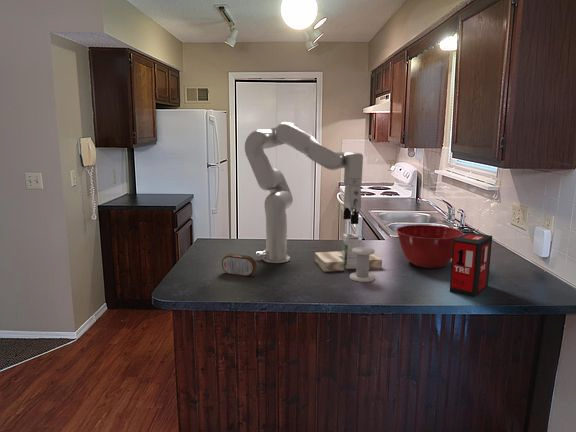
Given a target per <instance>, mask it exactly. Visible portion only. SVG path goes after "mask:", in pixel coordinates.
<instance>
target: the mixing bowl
mask: <svg viewBox="0 0 576 432" xmlns="http://www.w3.org/2000/svg"><path fill="white" fill-rule="evenodd" d="M396 232H397V236H398V240H399V243H400V244H399V245H400V246H401V249H402V252H403V254H404V257H405V258H406V259H407V261H409V262H410V263H411V264H412V265H414V266H416V267H420V268H426V269H437V268H442V267H443V266H445V265H447V264H448V263H449V262H450V261H452V253H453V240H455V239H457V238H459V237H460V236H462V235H464V232H463V231H461V230H459V229H457V228H453V227H450V226H449V227H448V226H442V225H433V224H430V225H429V224H411V225H403V226H399V227H398V228H397V229H396Z"/></svg>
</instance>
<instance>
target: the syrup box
mask: <svg viewBox="0 0 576 432" xmlns="http://www.w3.org/2000/svg"><path fill="white" fill-rule="evenodd" d="M359 238H360V237H359V236H358V235H357V234H356V233H343V234H342V251H343V252H342V260H343V261H344V270H349V269H350V270H351V269H352V270H353V269H355V270H356V261H357V254H355V253H353V252H352V249H353V248H356V247H359Z"/></svg>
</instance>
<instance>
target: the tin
mask: <svg viewBox="0 0 576 432" xmlns="http://www.w3.org/2000/svg"><path fill="white" fill-rule="evenodd" d="M221 260H222V261H221V267H222V270H223V271H224V273H226V274H229V275H231V276H233V275H234V276H240V277H241V276H242V277H250V276H252V275H253V274H255V272H256V271H257V267H258V266H257V262H256V260H255V258H253V257H252V256H250V255H245V254H244V255H243V254H236V253H229V254H228V253H227V255H225V256H224V257H223V258H222V259H221Z"/></svg>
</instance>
